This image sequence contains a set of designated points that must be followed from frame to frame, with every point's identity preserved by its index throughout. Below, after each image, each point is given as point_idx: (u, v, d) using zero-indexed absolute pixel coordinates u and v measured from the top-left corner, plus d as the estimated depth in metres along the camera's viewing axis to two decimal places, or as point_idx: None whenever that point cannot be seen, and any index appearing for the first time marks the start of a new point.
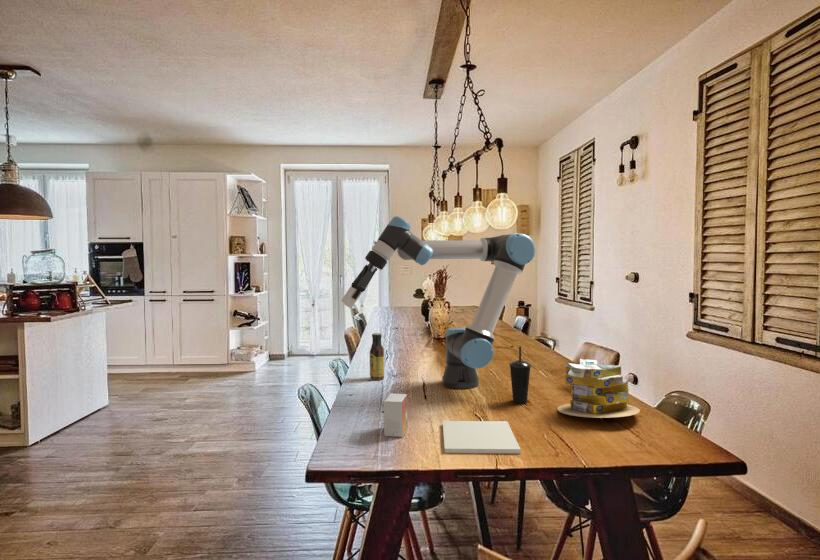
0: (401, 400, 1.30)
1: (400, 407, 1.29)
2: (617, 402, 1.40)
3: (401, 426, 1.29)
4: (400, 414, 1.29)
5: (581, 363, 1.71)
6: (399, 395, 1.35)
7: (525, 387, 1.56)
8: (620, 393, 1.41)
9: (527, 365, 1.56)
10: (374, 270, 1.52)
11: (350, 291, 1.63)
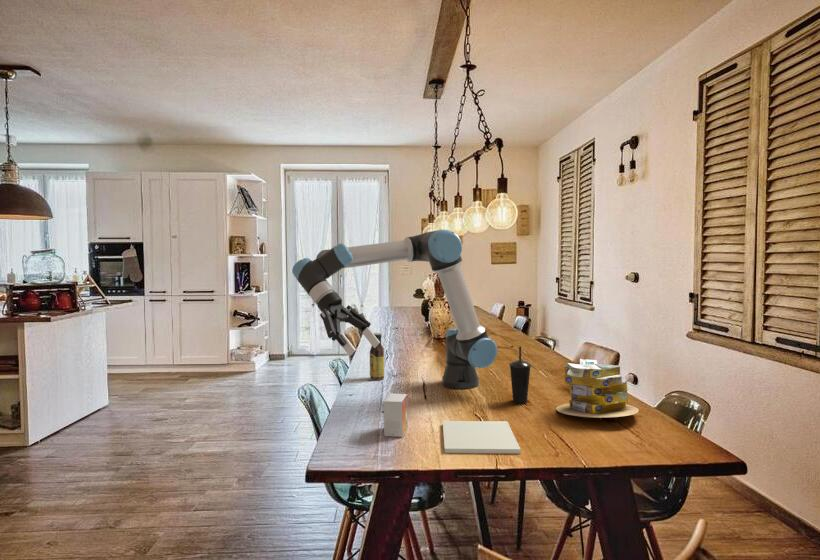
0: (401, 400, 1.30)
1: (400, 407, 1.29)
2: (616, 402, 1.40)
3: (401, 426, 1.29)
4: (400, 414, 1.29)
5: (581, 363, 1.71)
6: (399, 395, 1.35)
7: (525, 387, 1.56)
8: (619, 393, 1.41)
9: (527, 365, 1.56)
10: (324, 313, 1.35)
11: (366, 334, 1.44)
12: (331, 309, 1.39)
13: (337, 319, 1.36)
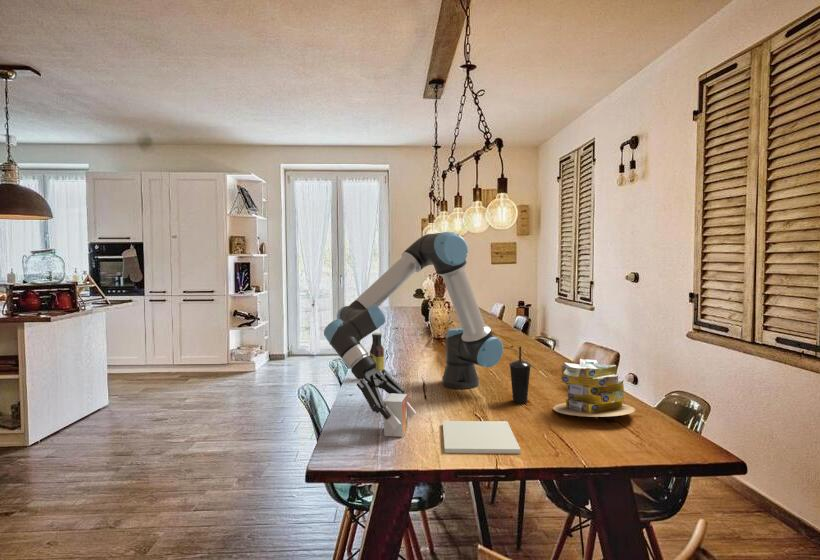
0: (401, 400, 1.30)
1: (400, 407, 1.28)
2: (612, 401, 1.41)
3: (401, 426, 1.29)
4: (400, 414, 1.29)
5: (581, 363, 1.71)
6: (399, 395, 1.34)
7: (525, 387, 1.56)
8: (615, 392, 1.41)
9: (527, 365, 1.56)
10: (362, 383, 1.30)
11: None
12: (366, 376, 1.33)
13: (376, 388, 1.32)
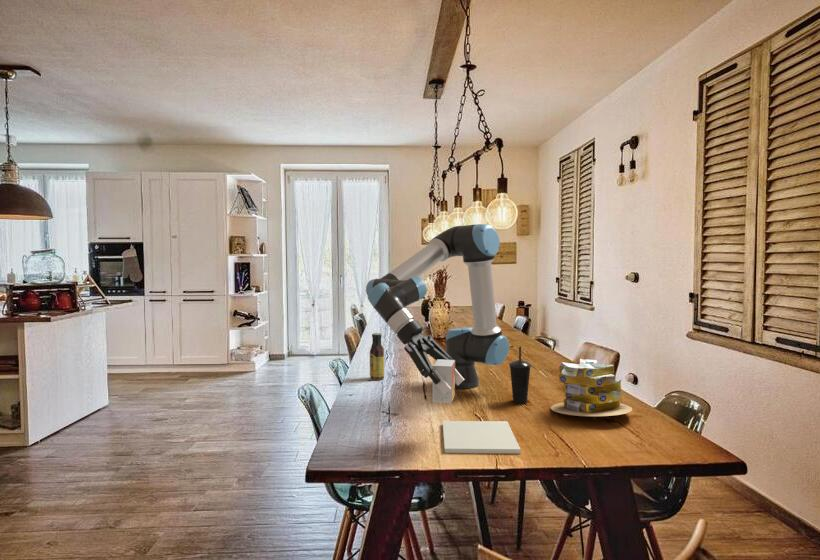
0: (450, 365, 1.24)
1: (450, 372, 1.23)
2: (610, 401, 1.41)
3: (450, 392, 1.23)
4: (450, 379, 1.23)
5: None
6: (447, 361, 1.29)
7: (525, 387, 1.56)
8: (613, 392, 1.42)
9: (527, 365, 1.56)
10: (410, 347, 1.25)
11: None
12: (413, 340, 1.28)
13: (424, 352, 1.26)
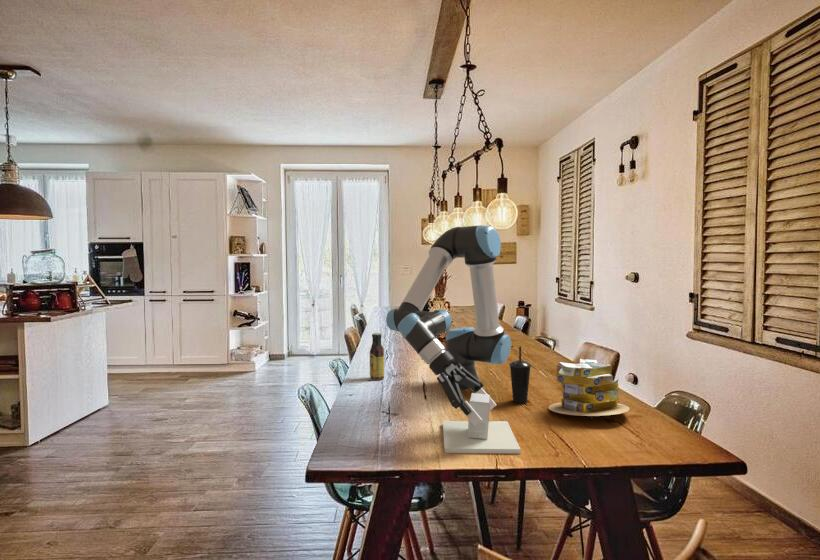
0: (487, 401, 1.24)
1: (487, 408, 1.23)
2: (607, 400, 1.41)
3: (487, 428, 1.23)
4: (486, 415, 1.23)
5: None
6: (482, 395, 1.29)
7: (525, 387, 1.56)
8: (610, 392, 1.42)
9: (527, 365, 1.56)
10: (442, 377, 1.25)
11: None
12: (447, 371, 1.28)
13: (456, 383, 1.26)
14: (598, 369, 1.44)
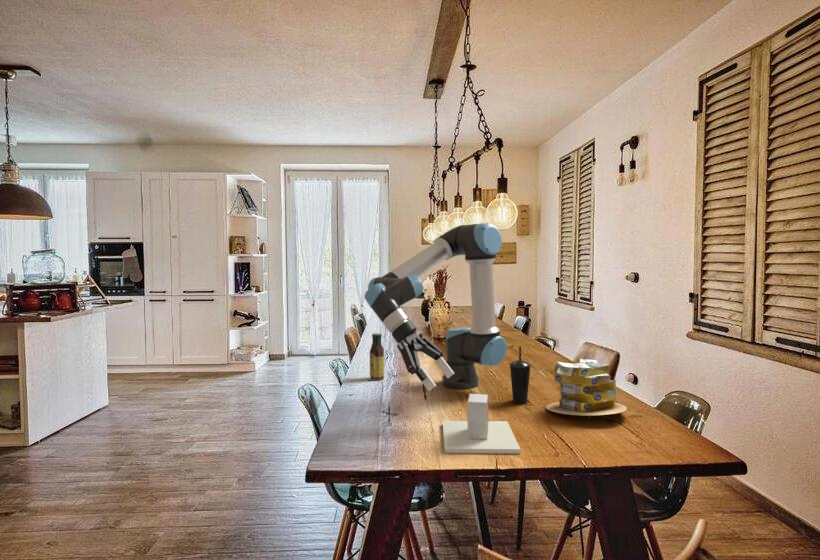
0: (485, 401, 1.24)
1: (485, 408, 1.23)
2: (604, 400, 1.42)
3: (486, 428, 1.23)
4: (485, 415, 1.23)
5: None
6: (480, 395, 1.29)
7: (525, 387, 1.56)
8: (607, 391, 1.43)
9: (527, 365, 1.56)
10: (402, 345, 1.31)
11: (440, 364, 1.40)
12: (407, 340, 1.34)
13: (414, 351, 1.32)
14: (596, 369, 1.44)
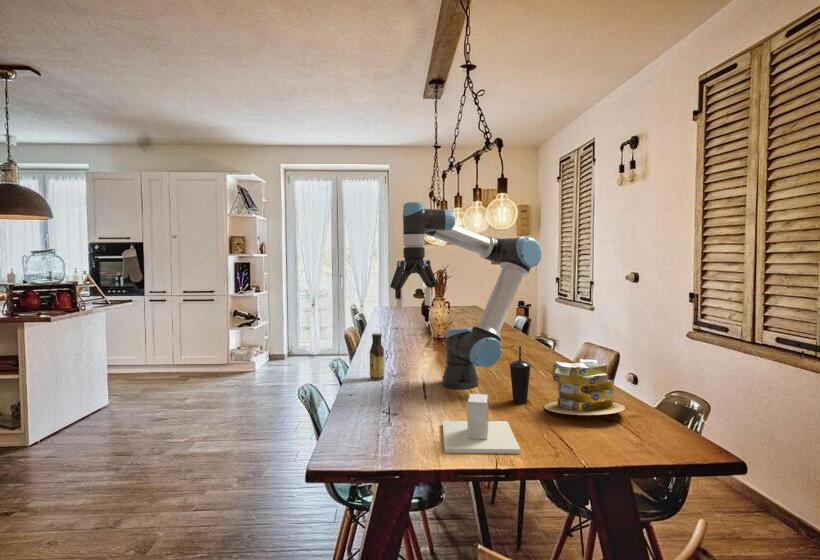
0: (485, 401, 1.24)
1: (485, 408, 1.23)
2: (602, 400, 1.42)
3: (486, 428, 1.23)
4: (485, 415, 1.23)
5: None
6: (480, 395, 1.29)
7: (525, 387, 1.56)
8: (605, 391, 1.43)
9: (527, 365, 1.56)
10: (400, 264, 1.51)
11: (426, 292, 1.62)
12: (409, 262, 1.54)
13: (407, 274, 1.53)
14: (594, 368, 1.45)
